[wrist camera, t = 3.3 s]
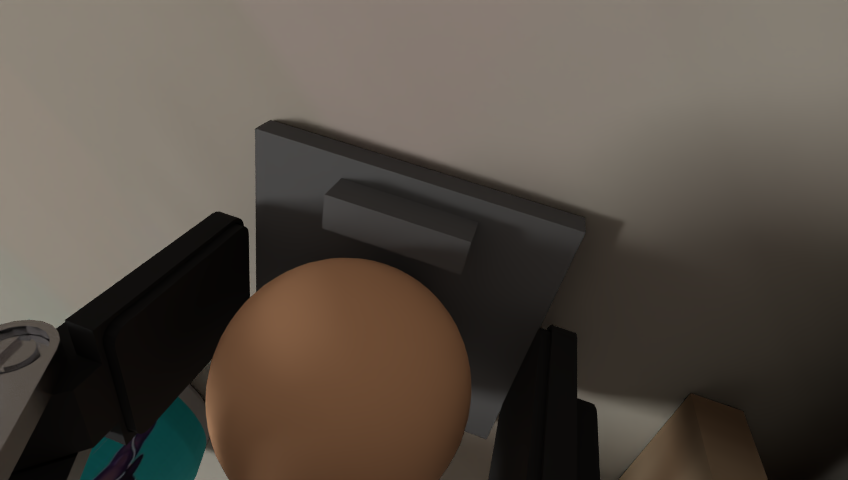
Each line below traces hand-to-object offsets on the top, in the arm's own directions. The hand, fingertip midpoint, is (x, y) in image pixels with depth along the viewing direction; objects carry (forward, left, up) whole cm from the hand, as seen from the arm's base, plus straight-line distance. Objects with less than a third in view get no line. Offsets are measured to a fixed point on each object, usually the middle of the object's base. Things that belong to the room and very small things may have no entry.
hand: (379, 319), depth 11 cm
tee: (0, 0, -1) cm, 1 cm away
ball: (0, 0, +2) cm, 2 cm away
